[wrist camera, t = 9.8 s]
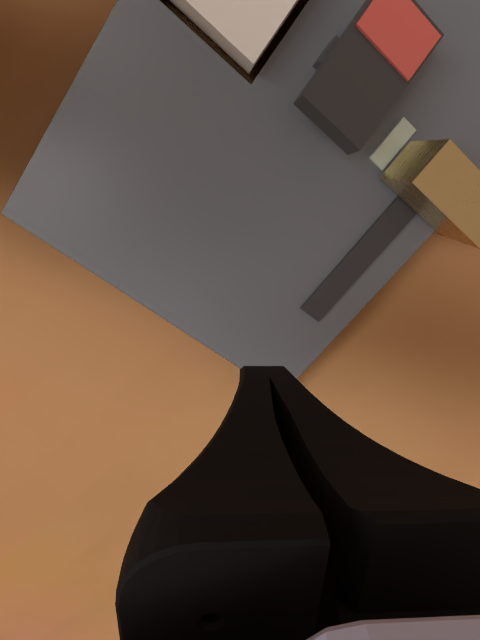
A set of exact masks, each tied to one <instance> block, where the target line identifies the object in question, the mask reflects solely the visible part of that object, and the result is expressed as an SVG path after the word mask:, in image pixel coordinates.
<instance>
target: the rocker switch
mask: <svg viewBox="0 0 480 640" xmlns="http://www.w3.org/2000/svg"><path fill="white" fill-rule="evenodd" d="M443 36H444V34H443V32H442V31H441V30H440V29H439V28H438V27H437V25H436V24H435V23H434V22H433V21H432V19H431V18H430V17H429V16H428V15H427V14H426V12H425V11H424V10H423V9H422V8H421V6H420V5H419V4H418V3H417V2H416V1H415V0H366V1H365V2H364V3H363V5H362V6H361V8H360V9H359V11H358V12H357V13H356V15H355V16H354V18H353V19H352V21H351V22H350V23H349V25H348V26H347V28H346V29H345V30H344V32H343V33H342V35H341V36H340V38H339V39H338V40H337V42H336V43H335V45H334V46H333V48H332V49H331V50H330V52H329V53H328V55H327V56H326V57H325V59H324V60H323V62H322V63H321V65H320V66H319V67H318V69H317V70H316V72H315V73H314V75H313V76H312V77H311V79H310V80H309V82H308V83H307V84H306V86H305V87H304V89H303V90H302V92H301V93H300V94H299V96H298V97H297V99H296V100H295V102H294V103H293V104H294V105H295V106H296V107H297V108H298V109H299V110H300V111H301V112H302V113H304V114H305V115H306V116H307V117H308V118H309V119H310V120H311V121H312V122H313V123H314V124H315V125H316V126H317V127H318V128H319V129H321V130H322V131H323V132H324V133H325V134H326V135H327V136H328V137H329V138H330V139H331V140H332V141H333V142H334V143H335V144H337V145H338V146H339V147H340V148H341V149H342V150H343V151H344V152H345V153H346V154H347V155H349V154H352V153H355V152H357V151H360V150H361V149H362V147H363V146H364V145H365V143H366V142H367V141H368V139H369V138H370V136H371V135H372V134H373V132H374V131H375V130H376V128H377V127H378V125H379V124H380V123H381V121H382V120H383V119H384V117H385V116H386V114H387V113H388V112H389V110H390V109H391V108H392V106H393V105H394V103H395V102H396V101H397V99H398V98H399V97H400V95H401V94H402V92H403V91H404V90H405V88H406V87H407V86H408V84H409V83H410V81H411V80H412V79H413V77H414V76H415V75H416V73H417V72H418V70H419V69H420V68H421V66H422V65H423V64H424V62H425V61H426V59H427V58H428V57H429V55H430V54H431V53H432V51H433V50H434V48H435V47H436V46H437V44H438V43H439V42H440V40H441V39H442V37H443Z"/></svg>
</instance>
